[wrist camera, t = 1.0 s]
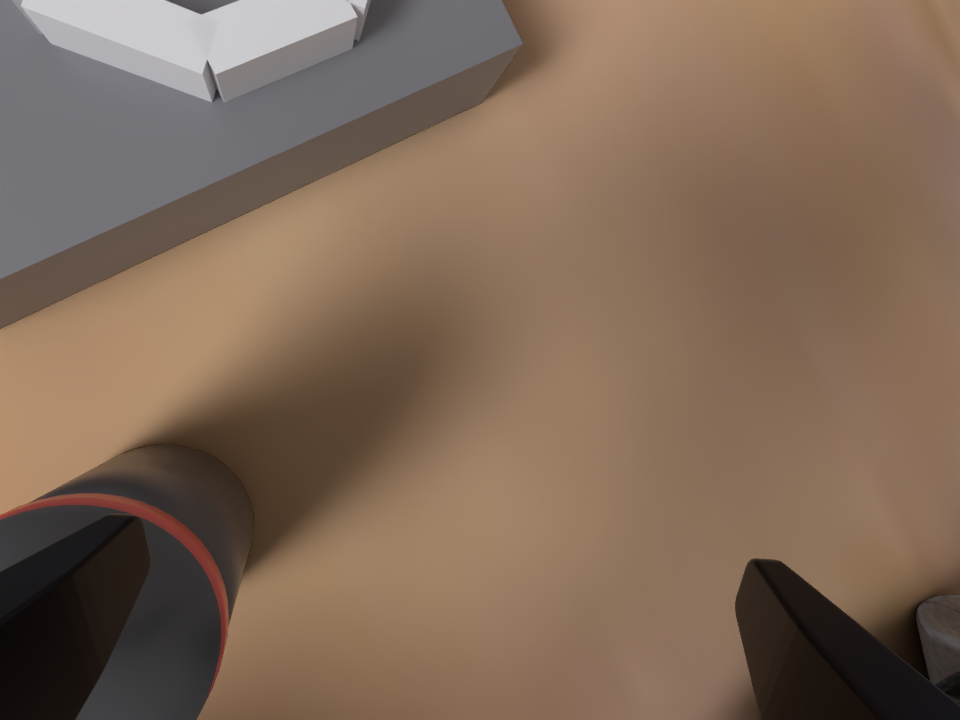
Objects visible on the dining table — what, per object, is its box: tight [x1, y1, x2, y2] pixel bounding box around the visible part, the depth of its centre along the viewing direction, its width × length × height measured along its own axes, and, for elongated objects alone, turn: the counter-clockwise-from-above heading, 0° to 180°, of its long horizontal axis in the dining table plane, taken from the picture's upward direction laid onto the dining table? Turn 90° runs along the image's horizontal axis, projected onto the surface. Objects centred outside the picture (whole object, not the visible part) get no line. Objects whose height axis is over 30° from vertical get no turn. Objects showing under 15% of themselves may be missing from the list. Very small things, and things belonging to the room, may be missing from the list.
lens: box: [0, 444, 254, 720], centre depth 14 cm, size 5×5×8 cm
